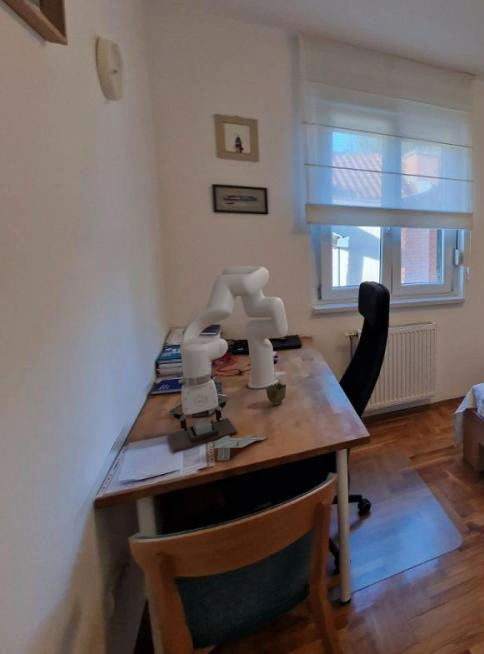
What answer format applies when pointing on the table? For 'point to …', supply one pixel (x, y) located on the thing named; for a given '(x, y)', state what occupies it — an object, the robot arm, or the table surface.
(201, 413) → the small box
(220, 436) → the mounting board
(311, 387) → the table surface
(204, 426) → the gray rectangular block
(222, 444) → the metal bracket
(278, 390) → the cup
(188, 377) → the robot arm
